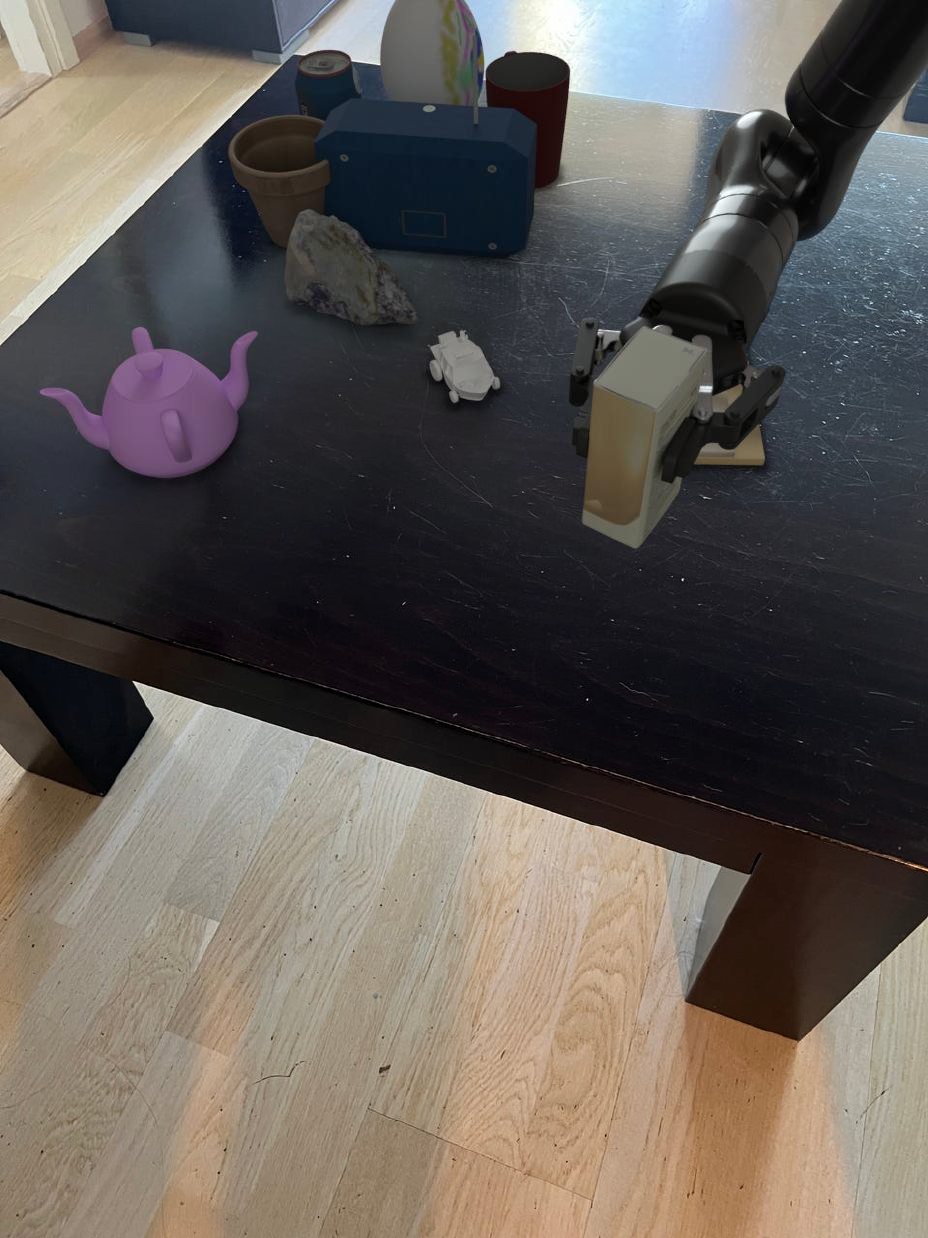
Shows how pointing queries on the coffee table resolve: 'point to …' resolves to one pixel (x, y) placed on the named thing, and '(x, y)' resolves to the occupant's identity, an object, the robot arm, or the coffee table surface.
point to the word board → (745, 452)
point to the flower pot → (281, 170)
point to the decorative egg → (430, 52)
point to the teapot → (164, 409)
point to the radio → (431, 175)
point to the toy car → (462, 367)
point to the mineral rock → (342, 274)
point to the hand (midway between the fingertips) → (625, 458)
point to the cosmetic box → (638, 433)
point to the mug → (534, 101)
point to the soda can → (325, 82)
